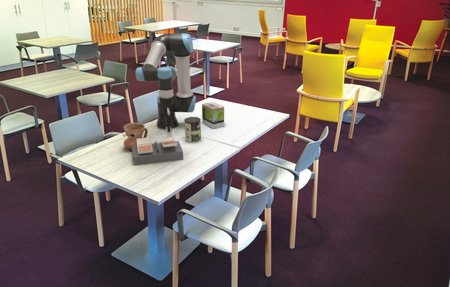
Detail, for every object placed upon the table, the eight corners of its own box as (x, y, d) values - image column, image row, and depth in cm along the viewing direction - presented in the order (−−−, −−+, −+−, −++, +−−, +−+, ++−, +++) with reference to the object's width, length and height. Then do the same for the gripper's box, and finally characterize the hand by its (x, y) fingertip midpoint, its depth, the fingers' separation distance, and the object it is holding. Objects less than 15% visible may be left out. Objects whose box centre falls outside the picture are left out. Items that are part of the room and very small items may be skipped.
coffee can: (202, 137, 243) (202, 117, 238) (198, 143, 234) (198, 122, 229) (187, 136, 245) (187, 116, 240) (183, 142, 236) (182, 121, 230)
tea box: (224, 126, 262) (224, 106, 256) (212, 129, 256) (212, 109, 250) (213, 120, 273) (213, 101, 267) (201, 123, 268) (201, 103, 262)
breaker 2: (160, 142, 221) (160, 139, 221) (174, 141, 223) (174, 138, 223) (162, 147, 208) (162, 144, 208) (177, 145, 210) (177, 142, 210)
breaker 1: (136, 141, 217) (136, 138, 216) (150, 139, 219) (150, 136, 218) (137, 154, 206) (137, 151, 205) (153, 152, 208) (152, 149, 207)
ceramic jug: (131, 155, 219) (129, 133, 213) (117, 148, 227) (115, 126, 222) (155, 146, 231) (154, 125, 225) (141, 140, 240) (140, 119, 234)
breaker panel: (132, 153, 221) (131, 142, 218) (179, 148, 227) (178, 137, 225) (134, 165, 207) (132, 154, 204) (183, 159, 213) (182, 148, 210)
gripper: (158, 93, 204) (161, 133, 213) (160, 100, 192) (163, 141, 202) (171, 92, 206) (174, 132, 215) (175, 99, 194) (177, 140, 204)
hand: (169, 136), depth 208 cm, fingers closed
